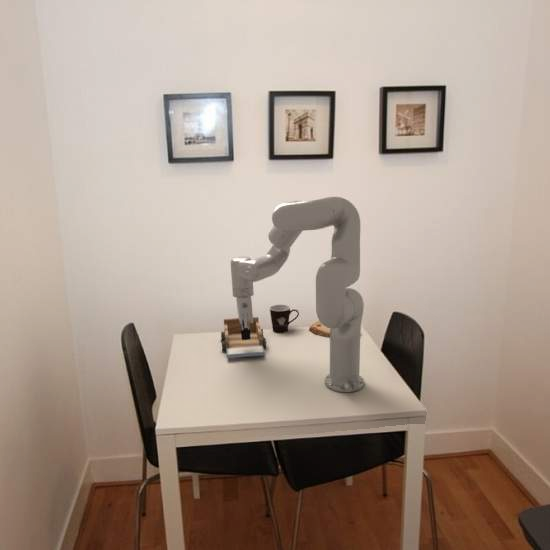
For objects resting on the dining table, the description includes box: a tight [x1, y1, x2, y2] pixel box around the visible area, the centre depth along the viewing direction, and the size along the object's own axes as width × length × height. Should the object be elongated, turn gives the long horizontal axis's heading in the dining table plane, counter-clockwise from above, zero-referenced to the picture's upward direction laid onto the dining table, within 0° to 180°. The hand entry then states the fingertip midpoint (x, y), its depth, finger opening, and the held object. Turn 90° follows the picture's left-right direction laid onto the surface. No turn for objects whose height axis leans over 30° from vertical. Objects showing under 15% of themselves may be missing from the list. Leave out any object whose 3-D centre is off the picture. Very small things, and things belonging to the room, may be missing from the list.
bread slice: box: [308, 320, 361, 339], centre depth 196 cm, size 18×18×4 cm
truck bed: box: [220, 316, 267, 354], centre depth 185 cm, size 16×17×8 cm
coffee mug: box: [269, 304, 300, 334], centre depth 198 cm, size 12×9×10 cm
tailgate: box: [226, 346, 266, 359], centre depth 174 cm, size 1×14×6 cm
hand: (246, 338), depth 173 cm, fingers closed
